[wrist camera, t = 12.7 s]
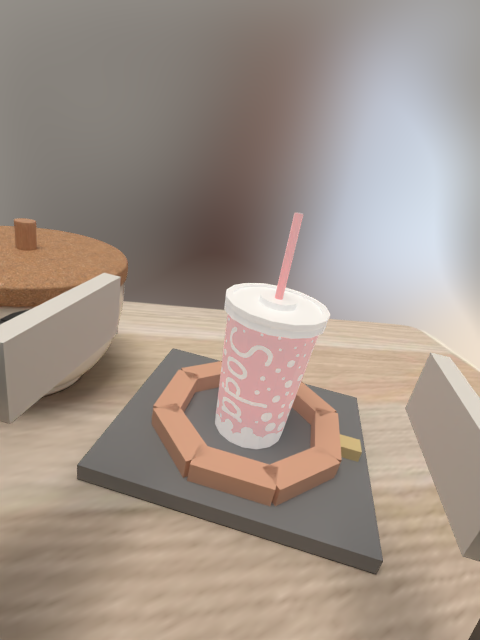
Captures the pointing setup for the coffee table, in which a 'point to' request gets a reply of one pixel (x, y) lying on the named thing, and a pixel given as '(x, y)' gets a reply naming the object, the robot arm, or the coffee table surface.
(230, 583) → the coffee table surface
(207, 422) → the ring board
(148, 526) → the coffee table surface
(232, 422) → the beverage cup
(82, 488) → the coffee table surface
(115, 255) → the lidded bowl
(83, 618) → the coffee table surface
